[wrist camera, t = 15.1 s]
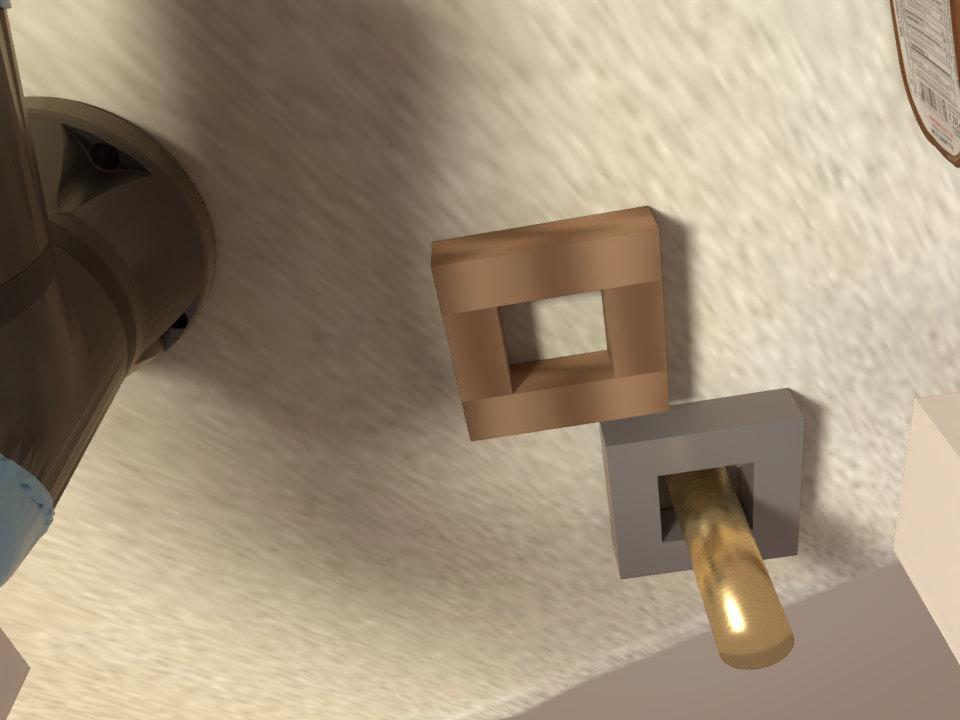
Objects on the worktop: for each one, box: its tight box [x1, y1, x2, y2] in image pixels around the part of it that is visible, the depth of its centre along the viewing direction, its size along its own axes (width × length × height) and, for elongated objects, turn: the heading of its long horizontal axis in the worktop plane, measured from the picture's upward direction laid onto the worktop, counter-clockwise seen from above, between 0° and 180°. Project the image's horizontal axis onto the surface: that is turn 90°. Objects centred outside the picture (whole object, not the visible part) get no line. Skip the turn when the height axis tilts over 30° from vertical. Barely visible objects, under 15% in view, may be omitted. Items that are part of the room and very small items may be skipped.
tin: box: [890, 0, 960, 168], centre depth 37 cm, size 15×3×8 cm, turn 23°
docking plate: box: [599, 388, 805, 579], centre depth 56 cm, size 12×12×3 cm
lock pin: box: [665, 466, 794, 670], centre depth 52 cm, size 4×4×14 cm
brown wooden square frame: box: [431, 206, 670, 441], centre depth 49 cm, size 12×12×3 cm
